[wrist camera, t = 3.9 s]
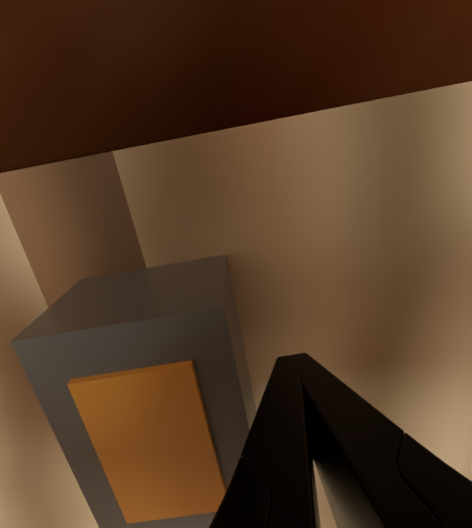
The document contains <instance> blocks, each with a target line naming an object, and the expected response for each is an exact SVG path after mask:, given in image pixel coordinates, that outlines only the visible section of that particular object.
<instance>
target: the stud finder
mask: <svg viewBox="0 0 472 528" xmlns="http://www.w3.org/2000/svg"><path fill="white" fill-rule="evenodd" d="M11 344H12V346H13V348H14V350H15V352H16V354H17V357H18V359H19V361H20V363H21V365H22V367H23V369H24V371H25V373H26V375H27V378H28V380H29V382H30V384H31V386H32V388H33V390H34V392H35V394H36V396H37V399H38V401H39V403H40V405H41V407H42V409H43V411H44V413H45V415H46V417H47V420H48V422H49V424H50V426H51V428H52V430H53V432H54V434H55V436H56V438H57V441H58V443H59V445H60V447H61V449H62V451H63V453H64V455H65V457H66V459H67V462H68V464H69V466H70V468H71V470H72V472H73V474H74V476H75V478H76V480H77V483H78V485H79V487H80V489H81V491H82V493H83V495H84V497H85V499H86V501H87V504H88V506H89V508H90V510H91V512H92V514H93V516H94V518H95V520H96V522H97V525H98V527H99V528H209V526H210V524H211V522H212V520H213V518H214V516H215V514H216V512H217V510H218V507H219V505H220V503H221V501H222V499H223V497H224V495H225V493H226V490H227V488H228V485H229V483H230V481H231V478H232V476H233V473H234V471H235V468H236V465H237V463H238V460H239V458H240V457H241V452H242V450H243V447H244V444H245V442H246V439H247V436H248V434H249V431H250V428H251V426H252V423H253V420H254V418H255V415H256V412H257V411H256V405H255V400H254V395H253V390H252V385H251V379H250V374H249V369H248V364H247V359H246V354H245V348H244V343H243V338H242V333H241V328H240V323H239V317H238V312H237V307H236V302H235V297H234V292H233V286H232V281H231V276H230V271H229V266H228V260H227V255H221V256H215V257H209V258H203V259H197V260H191V261H185V262H179V263H173V264H168V265H162V266H156V267H150V268H144V269H138V270H132V271H126V272H120V273H114V274H108V275H103V276H97V277H91V278H85V279H80V280H79V281H78V282H77V283H76V284H75V285H74V286H72V287H71V288H70V289H69V290H68V291H67V292H66V293H65V294H63V295H62V296H61V297H60V298H59V299H58V300H57V301H56V302H54V303H53V304H52V305H51V306H50V307H49V308H48V309H47V310H45V311H44V312H43V313H42V314H41V315H40V316H39V317H38V318H36V319H35V320H34V321H33V322H32V323H31V324H30V325H29V326H28V327H26V328H25V329H24V330H23V331H22V332H21V333H20V334H19V335H17V336H16V337H15V338H14V339H13V340H12V341H11Z"/></svg>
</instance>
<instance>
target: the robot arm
mask: <svg viewBox="0 0 472 528" xmlns="http://www.w3.org/2000/svg"><path fill="white" fill-rule="evenodd" d="M313 460H314V463H315V466H316V469H317V472H318V474H319V477H320V480H321V483H322V486H323V488H324V491H325V494H326V497H327V500H328V502H329V505H330V508H331V511H332V514H333V516H334V519H335V522H336V525H337V528H472V481H471V480H469V479H468V478H466V477H465V476H464V475H462V474H461V473H459V472H458V471H456V470H455V469H454V468H452V467H451V466H449V465H448V464H446V463H445V462H444V461H442V460H441V459H440V458H438V457H437V456H436V455H434V454H433V453H432V452H430V451H429V450H428V449H427V448H425V447H424V446H423V445H421V444H420V443H419V442H418V441H416V440H415V439H414V438H413V437H411V436H410V435H409V434H408V433H404V431H403V430H402V429H401V428H400V427H399V426H397V425H396V424H395V423H394V422H392V421H391V420H390V419H389V418H387V417H386V416H385V415H383V414H382V413H381V412H380V411H378V410H377V409H376V408H375V407H373V406H372V405H371V404H370V403H368V402H367V401H366V400H365V399H363V398H362V397H361V396H360V395H358V394H357V393H356V392H355V391H353V390H352V389H351V388H350V387H348V386H347V385H346V384H345V383H343V382H342V381H341V380H340V379H338V378H337V377H336V376H335V375H333V374H332V373H331V372H330V371H328V370H327V369H326V368H325V367H323V366H322V365H321V364H320V363H318V362H317V361H316V360H315V359H313V358H312V357H311V356H310V355H308V354H307V353H299V354H293V355H286V356H280V357H278V358H277V359H276V361H275V364H274V367H273V369H272V372H271V375H270V377H269V380H268V383H267V385H266V388H265V391H264V393H263V396H262V399H261V401H260V404H259V407H258V410H257V412H256V415H255V418H254V420H253V423H252V426H251V428H250V431H249V434H248V436H247V439H246V442H245V444H244V447H243V450H242V452H241V457H240V458H239V460H238V463H237V465H236V468H235V471H234V473H233V476H232V478H231V481H230V483H229V485H228V488H227V490H226V493H225V495H224V497H223V499H222V501H221V503H220V505H219V507H218V510H217V512H216V514H215V516H214V518H213V520H212V522H211V524H210V526H209V528H321V524H320V516H319V507H318V498H317V489H316V481H315V472H314V463H313Z"/></svg>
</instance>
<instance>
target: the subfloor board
mask: <svg viewBox="0 0 472 528" xmlns="http://www.w3.org/2000/svg"><path fill="white" fill-rule="evenodd" d="M221 255H227V260H228V266H229V271H230V276H231V281H232V286H233V292H234V297H235V302H236V307H237V312H238V317H239V323H240V328H241V333H242V338H243V343H244V348H245V354H246V359H247V364H248V369H249V374H250V379H251V385H252V390H253V395H254V400H255V405H256V411H257V410H258V407H259V404H260V401H261V399H262V396H263V393H264V391H265V388H266V385H267V383H268V380H269V377H270V375H271V372H272V369H273V367H274V364H275V361H276V359H277V358H278V357H280V356H286V355H293V354H299V353H307V354H308V355H310V356H311V357H312V358H313V359H315V360H316V361H317V362H318V363H320V364H321V365H322V366H323V367H325V368H326V369H327V370H328V371H330V372H331V373H332V374H333V375H335V376H336V377H337V378H338V379H340V380H341V381H342V382H343V383H345V384H346V385H347V386H348V387H350V388H351V389H352V390H353V391H355V392H356V393H357V394H358V395H360V396H361V397H362V398H363V399H365V400H366V401H367V402H368V403H370V404H371V405H372V406H373V407H375V408H376V409H377V410H378V411H380V412H381V413H382V414H383V415H385V416H386V417H387V418H389V419H390V420H391V421H392V422H394V423H395V424H396V425H397V426H399V427H400V428H401V429H402V430H403V431H404V433H408V434H409V435H410V436H411V437H413V438H414V439H415V440H416V441H418V442H419V443H420V444H421V445H423V446H424V447H425V448H427V449H428V450H429V451H430V452H432V453H433V454H434V455H436V456H437V457H438V458H440V459H441V460H442V461H444V462H445V463H446V464H448V465H449V466H451V467H452V468H454V469H455V470H456V471H458V472H459V473H461V474H462V475H464V476H465V477H466V478H468V479H469V480H471V481H472V81H470V82H465V83H459V84H454V85H449V86H444V87H439V88H434V89H429V90H424V91H418V92H413V93H408V94H403V95H398V96H393V97H388V98H383V99H378V100H372V101H367V102H362V103H357V104H352V105H347V106H342V107H337V108H331V109H326V110H321V111H316V112H311V113H306V114H301V115H296V116H290V117H285V118H280V119H275V120H270V121H265V122H260V123H255V124H249V125H244V126H239V127H234V128H229V129H224V130H219V131H214V132H209V133H203V134H198V135H193V136H188V137H183V138H178V139H173V140H168V141H162V142H157V143H152V144H147V145H142V146H137V147H132V148H127V149H121V150H116V151H111V152H106V153H101V154H96V155H91V156H86V157H81V158H75V159H70V160H65V161H60V162H55V163H50V164H45V165H40V166H34V167H29V168H24V169H19V170H14V171H9V172H4V173H0V528H99V527H98V525H97V522H96V520H95V518H94V516H93V514H92V512H91V510H90V508H89V506H88V504H87V501H86V499H85V497H84V495H83V493H82V491H81V489H80V487H79V485H78V483H77V480H76V478H75V476H74V474H73V472H72V470H71V468H70V466H69V464H68V462H67V459H66V457H65V455H64V453H63V451H62V449H61V447H60V445H59V443H58V441H57V438H56V436H55V434H54V432H53V430H52V428H51V426H50V424H49V422H48V420H47V417H46V415H45V413H44V411H43V409H42V407H41V405H40V403H39V401H38V399H37V396H36V394H35V392H34V390H33V388H32V386H31V384H30V382H29V380H28V378H27V375H26V373H25V371H24V369H23V367H22V365H21V363H20V361H19V359H18V357H17V354H16V352H15V350H14V348H13V346H12V344H11V341H12V340H13V339H14V338H15V337H16V336H17V335H19V334H20V333H21V332H22V331H23V330H24V329H25V328H26V327H28V326H29V325H30V324H31V323H32V322H33V321H34V320H35V319H36V318H38V317H39V316H40V315H41V314H42V313H43V312H44V311H45V310H47V309H48V308H49V307H50V306H51V305H52V304H53V303H54V302H56V301H57V300H58V299H59V298H60V297H61V296H62V295H63V294H65V293H66V292H67V291H68V290H69V289H70V288H71V287H72V286H74V285H75V284H76V283H77V282H78V281H79V280H80V279H85V278H91V277H97V276H103V275H108V274H114V273H120V272H126V271H132V270H138V269H144V268H150V267H156V266H162V265H168V264H173V263H179V262H185V261H191V260H197V259H203V258H209V257H215V256H221ZM313 463H314V460H313ZM314 472H315V481H316V489H317V498H318V507H319V516H320V524H321V528H337V525H336V522H335V519H334V516H333V514H332V511H331V508H330V505H329V502H328V500H327V497H326V494H325V491H324V488H323V486H322V483H321V480H320V477H319V474H318V472H317V469H316V466H315V463H314Z"/></svg>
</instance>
